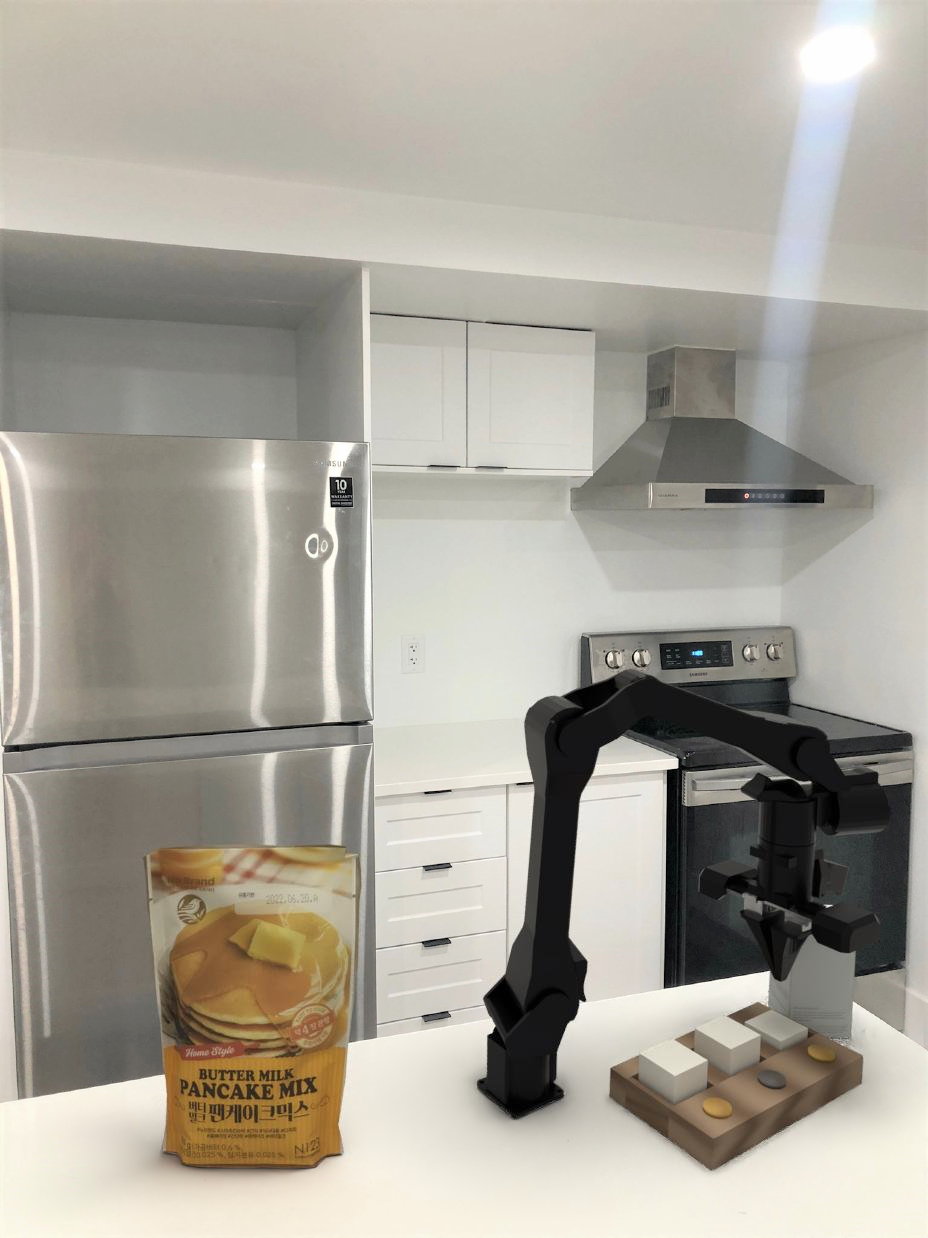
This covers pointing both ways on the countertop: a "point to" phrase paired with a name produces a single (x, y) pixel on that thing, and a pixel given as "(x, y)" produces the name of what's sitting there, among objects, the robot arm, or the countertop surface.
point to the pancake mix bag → (254, 998)
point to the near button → (673, 1071)
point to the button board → (743, 1094)
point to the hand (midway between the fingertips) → (780, 980)
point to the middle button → (727, 1045)
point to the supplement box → (817, 990)
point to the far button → (778, 1030)
